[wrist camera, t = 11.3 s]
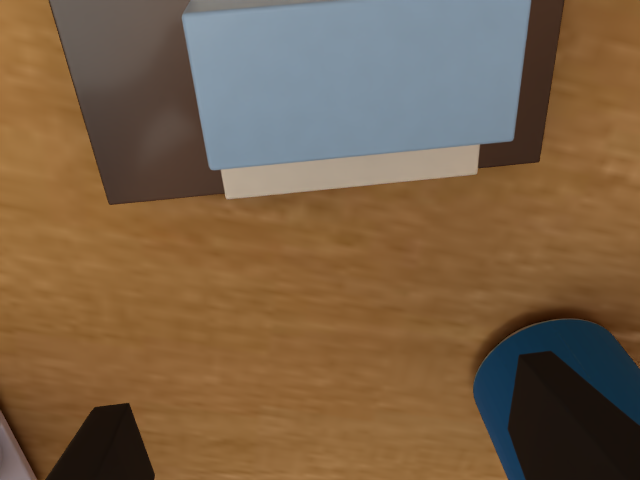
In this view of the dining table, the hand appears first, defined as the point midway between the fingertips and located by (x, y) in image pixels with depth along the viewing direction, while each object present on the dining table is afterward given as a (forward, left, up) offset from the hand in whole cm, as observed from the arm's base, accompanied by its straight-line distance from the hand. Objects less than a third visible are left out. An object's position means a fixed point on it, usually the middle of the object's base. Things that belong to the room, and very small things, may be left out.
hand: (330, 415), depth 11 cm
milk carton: (+1, +6, -9) cm, 11 cm away
